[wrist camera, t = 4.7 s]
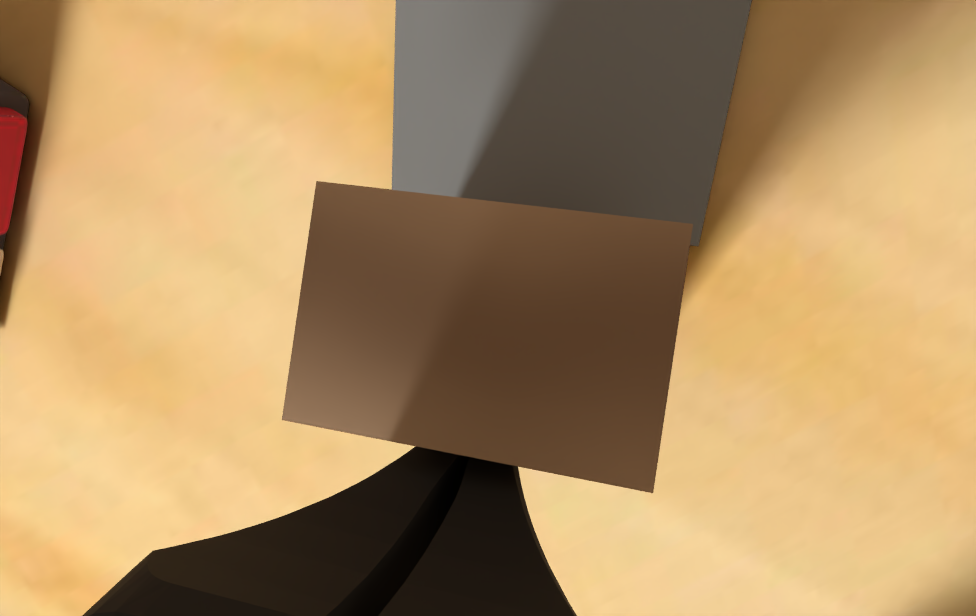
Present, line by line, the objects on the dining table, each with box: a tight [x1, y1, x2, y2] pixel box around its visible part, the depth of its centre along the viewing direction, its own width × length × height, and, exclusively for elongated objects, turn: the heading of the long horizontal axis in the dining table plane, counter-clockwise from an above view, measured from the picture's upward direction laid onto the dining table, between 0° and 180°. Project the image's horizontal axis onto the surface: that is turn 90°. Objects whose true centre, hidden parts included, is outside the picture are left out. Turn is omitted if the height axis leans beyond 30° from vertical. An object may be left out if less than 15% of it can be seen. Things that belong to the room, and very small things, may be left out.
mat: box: [392, 0, 752, 246], centre depth 14 cm, size 11×9×1 cm
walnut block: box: [282, 181, 693, 493], centre depth 12 cm, size 4×6×8 cm, turn 85°
